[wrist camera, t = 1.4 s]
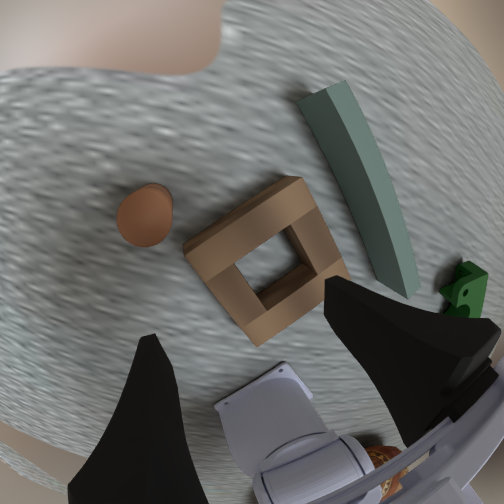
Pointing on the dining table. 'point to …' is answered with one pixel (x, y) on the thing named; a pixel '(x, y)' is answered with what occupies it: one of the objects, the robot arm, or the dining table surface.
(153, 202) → the dowel
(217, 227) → the square frame
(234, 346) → the dining table surface
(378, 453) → the jug
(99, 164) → the dining table surface
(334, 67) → the dining table surface
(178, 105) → the dining table surface
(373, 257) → the wall
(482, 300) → the clamp
